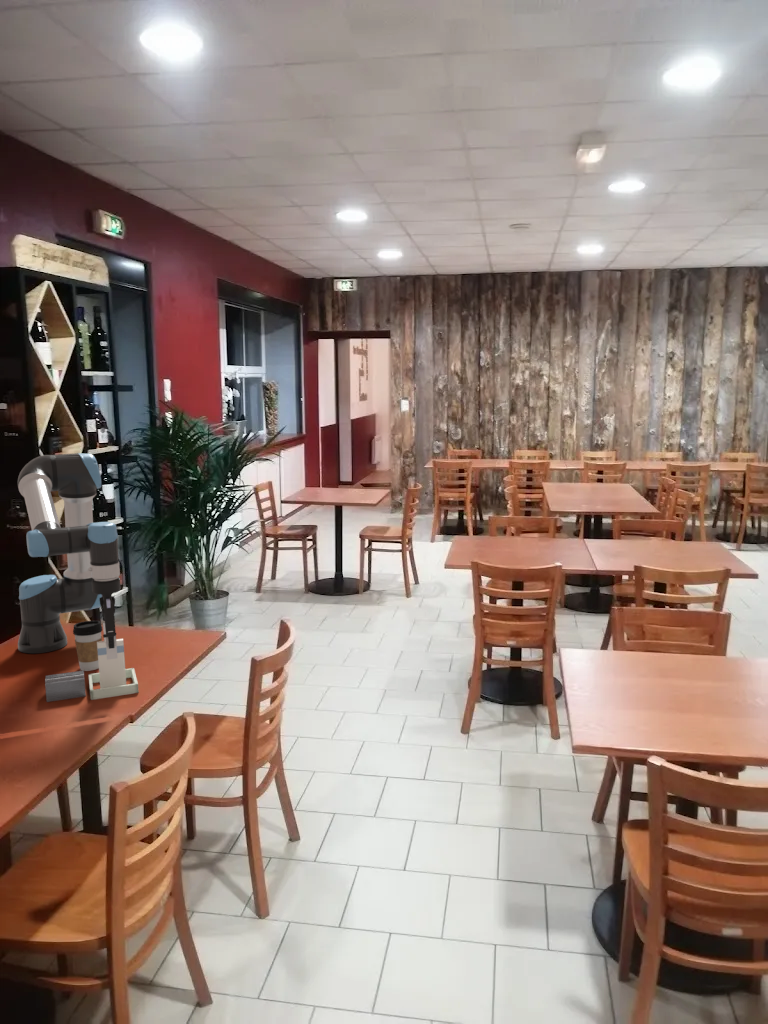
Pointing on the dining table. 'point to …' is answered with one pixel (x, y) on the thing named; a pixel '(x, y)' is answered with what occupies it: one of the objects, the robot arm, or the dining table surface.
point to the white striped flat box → (111, 666)
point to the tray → (113, 690)
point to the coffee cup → (87, 643)
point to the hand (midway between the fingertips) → (110, 650)
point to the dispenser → (65, 686)
